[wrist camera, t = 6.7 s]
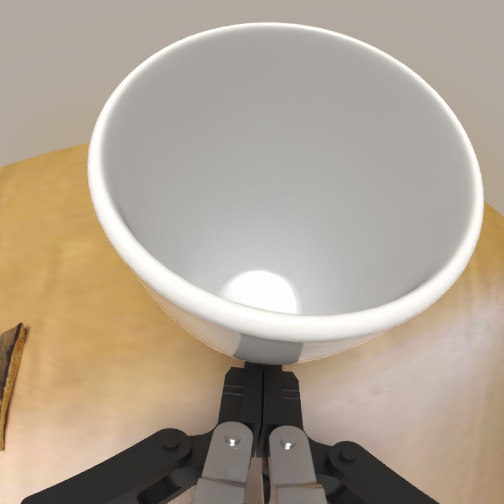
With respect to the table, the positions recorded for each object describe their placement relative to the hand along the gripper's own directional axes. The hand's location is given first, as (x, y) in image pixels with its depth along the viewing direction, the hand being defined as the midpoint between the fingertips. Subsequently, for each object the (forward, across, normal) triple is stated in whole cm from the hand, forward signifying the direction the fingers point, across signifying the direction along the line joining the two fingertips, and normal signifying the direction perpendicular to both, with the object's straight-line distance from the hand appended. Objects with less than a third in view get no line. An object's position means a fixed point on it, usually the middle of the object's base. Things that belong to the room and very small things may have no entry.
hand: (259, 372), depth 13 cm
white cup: (+6, 0, +1) cm, 6 cm away
